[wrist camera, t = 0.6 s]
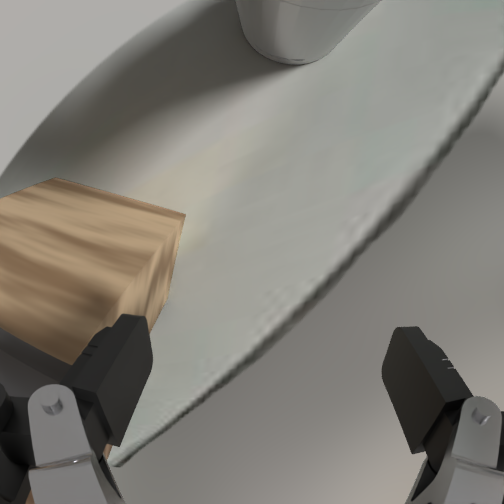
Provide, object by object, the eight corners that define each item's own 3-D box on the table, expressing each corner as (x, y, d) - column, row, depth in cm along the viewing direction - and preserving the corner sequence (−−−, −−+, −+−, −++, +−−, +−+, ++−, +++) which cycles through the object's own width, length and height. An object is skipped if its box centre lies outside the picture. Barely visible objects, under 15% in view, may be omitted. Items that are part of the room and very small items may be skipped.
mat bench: (52, 172, 28) (-117, 250, 7) (191, 211, 29) (66, 385, 9) (48, 258, 32) (-74, 371, 11) (171, 303, 34) (93, 484, 13)
